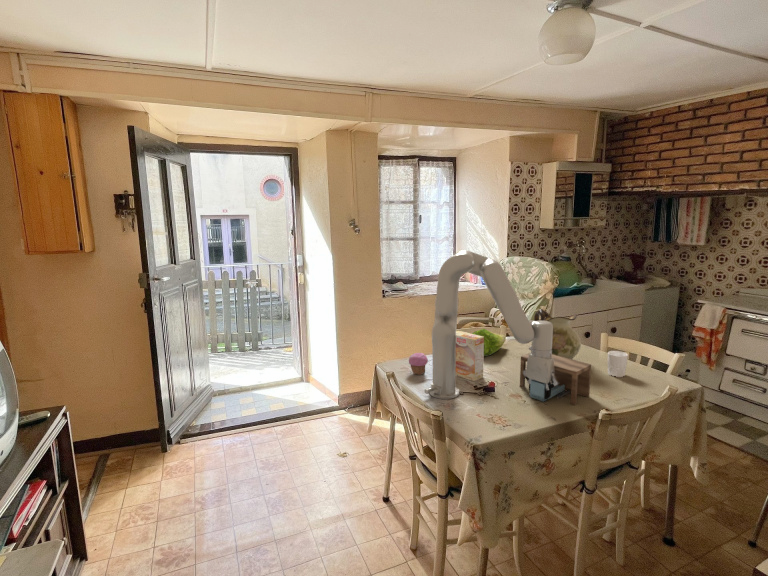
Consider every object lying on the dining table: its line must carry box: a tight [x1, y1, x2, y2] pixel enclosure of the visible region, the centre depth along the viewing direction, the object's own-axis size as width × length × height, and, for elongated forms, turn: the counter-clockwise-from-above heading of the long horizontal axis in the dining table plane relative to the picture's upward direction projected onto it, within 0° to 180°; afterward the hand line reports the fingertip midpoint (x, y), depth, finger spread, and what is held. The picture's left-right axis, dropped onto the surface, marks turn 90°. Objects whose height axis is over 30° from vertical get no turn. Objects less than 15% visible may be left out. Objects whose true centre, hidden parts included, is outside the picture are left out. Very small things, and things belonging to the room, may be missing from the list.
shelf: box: [519, 352, 592, 406], centre depth 172 cm, size 12×24×14 cm, turn 39°
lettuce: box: [471, 328, 506, 357], centre depth 224 cm, size 14×24×15 cm
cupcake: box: [408, 352, 429, 376], centre depth 195 cm, size 9×9×10 cm
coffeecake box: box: [456, 330, 485, 382], centre depth 191 cm, size 15×7×20 cm, turn 42°
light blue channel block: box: [529, 380, 566, 403], centre depth 170 cm, size 16×6×7 cm, turn 129°
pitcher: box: [533, 308, 582, 360], centre depth 207 cm, size 22×24×25 cm
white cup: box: [607, 350, 629, 378], centre depth 189 cm, size 8×8×10 cm
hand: (539, 395), depth 167 cm, fingers closed on light blue channel block, 6 cm apart
